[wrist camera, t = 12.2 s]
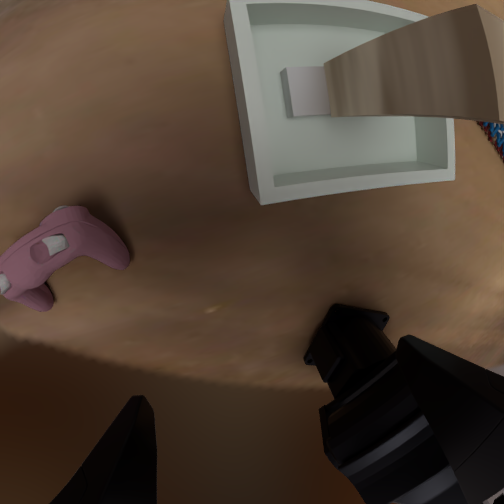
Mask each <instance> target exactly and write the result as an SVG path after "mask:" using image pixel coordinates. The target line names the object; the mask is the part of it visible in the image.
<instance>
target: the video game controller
mask: <svg viewBox="0 0 504 504" xmlns="http://www.w3.org/2000/svg"><path fill="white" fill-rule="evenodd" d="M83 255H86V256H89V257H92V258H94V259H96V260H99V261H100V262H102V263H104V264H106V265H108V266H109V267H112V268H114V269H119V270H124V269H126V268H127V267H128V265H129V263H130V257H129V251H128V249H127V247H126V245H125V244H124V243H123V241H122V240H121V238H120V237H119V236H118V235H117V234H116V233H115V232H114V230H112V229H111V228H110V227H109V226H107V225H106V224H105V223H104V222H102V221H100V220H99V219H97V218H95V217H94V216H92V215H90V213H89V211H88V209H87V208H86V207H83V206H70V207H69V206H59V207H58V208H56V209H55V210H54V211H53V213H51V214H50V215H48V216H47V217H46V218H44V219H43V221H42V222H41V223H40V225H39V227H38V228H36V229H34V230H33V231H31V232H29V233H28V234H26V235H24V236H23V237H22V238H20V239H19V240H18V241H17V242H15V243H14V244H13V245H12V246H10V247H9V248H8V249H7V250H6V251H5V252H4V253H3V255H2V256H0V291H1V294H3V295H4V297H5V298H7V299H9V300H12V301H16V302H19V303H22V304H24V305H26V306H28V307H30V308H32V309H35V310H37V311H40V312H42V311H48V310H50V309H51V308H52V307H53V296H52V294H51V292H50V290H49V288H48V287H47V286H46V285H45V284H44V282H45V281H46V280H47V279H48V278H49V277H50V276H51V274H52V273H53V272H54V271H55V270H57V269H58V268H60V267H62V266H64V265H65V264H67V263H68V262H70V261H72V260H73V259H75V258H76V257H78V256H83Z"/></svg>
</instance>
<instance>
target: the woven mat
mask: <svg viewBox="0 0 504 504" xmlns="http://www.w3.org/2000/svg"><path fill="white" fill-rule="evenodd" d="M476 122H477V121H476ZM478 122H479V125H480V126H482V127H483V129H484V131H485V132H486V133H487V135H488V137H489V140H490V142H493V143H494V146H495V147H496V150H497V151H498V152H499V153H500V156H502V159H503V161H504V124H498V123H491V122H483V121H478ZM489 124H490V127H488V126H489ZM501 146H502V147H501Z"/></svg>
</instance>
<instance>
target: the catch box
mask: <svg viewBox="0 0 504 504" xmlns="http://www.w3.org/2000/svg"><path fill="white" fill-rule="evenodd" d="M425 18H428V16H425V15H422V14H419V13H415V12H412V11H409V10H405V9H402V8H398V7H394V6H390V5H386V4H381V3H377V2H372V1H367V0H227V3H226V9H225V15H224V27H225V33H226V39H227V45H228V52H229V58H230V64H231V70H232V77H233V83H234V89H235V96H236V102H237V109H238V115H239V121H240V128H241V134H242V141H243V147H244V154H245V161H246V167H247V174H248V180H249V187H250V191H251V192H252V194H253V195H254V196H255V198H256V199H257V200H258V202H259V203H260V204H261V205H266V204H272V203H278V202H284V201H290V200H297V199H303V198H310V197H316V196H323V195H330V194H337V193H344V192H351V191H359V190H366V189H374V188H383V187H391V186H400V185H409V184H418V183H428V182H438V181H450V180H455V137H454V120H453V118H438V117H412V116H359V117H331V115H316V116H302V117H290V118H287V116H286V109H285V102H284V96H283V89H282V83H281V77H280V72H281V71H282V70H283V69H284V68H286V67H306V66H324V64H323V63H325V62H327V61H329V60H331V59H333V58H335V57H337V56H339V55H341V54H343V53H345V52H347V51H349V50H351V49H353V48H355V47H357V46H359V45H361V44H363V43H366V42H368V41H370V40H372V39H375V38H377V37H379V36H381V35H384V34H386V33H389V32H391V31H393V30H396V29H398V28H401V27H404V26H406V25H409V24H411V23H414V22H417V21H420V20H423V19H425Z"/></svg>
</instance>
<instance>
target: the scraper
mask: <svg viewBox="0 0 504 504" xmlns="http://www.w3.org/2000/svg"><path fill="white" fill-rule="evenodd" d="M323 64H324V66H306V67H286V68H284V69H283V70H282V71H281V72H280V77H281V83H282V89H283V96H284V102H285V109H286V116H287V118H290V117H302V116H316V115H331V117H359V116H412V117H438V118H453V119H465V120H474V121H483V122H491V123H498V124H504V21H503V20H502V19H500V18H499V17H497V16H495V15H494V14H492V13H491V12H489V11H487V10H486V9H484V8H482V7H481V6H479V5H477V4H473V5H469V6H465V7H461V8H458V9H454V10H451V11H447V12H444V13H441V14H438V15H434V16H431V17H428V18H425V19H423V20H420V21H417V22H414V23H411V24H409V25H406V26H404V27H401V28H398V29H396V30H393V31H391V32H389V33H386V34H384V35H381V36H379V37H377V38H375V39H372V40H370V41H368V42H366V43H363V44H361V45H359V46H357V47H355V48H353V49H351V50H349V51H347V52H345V53H343V54H341V55H339V56H337V57H335V58H333V59H331V60H329V61H327V62H325V63H323Z"/></svg>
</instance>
